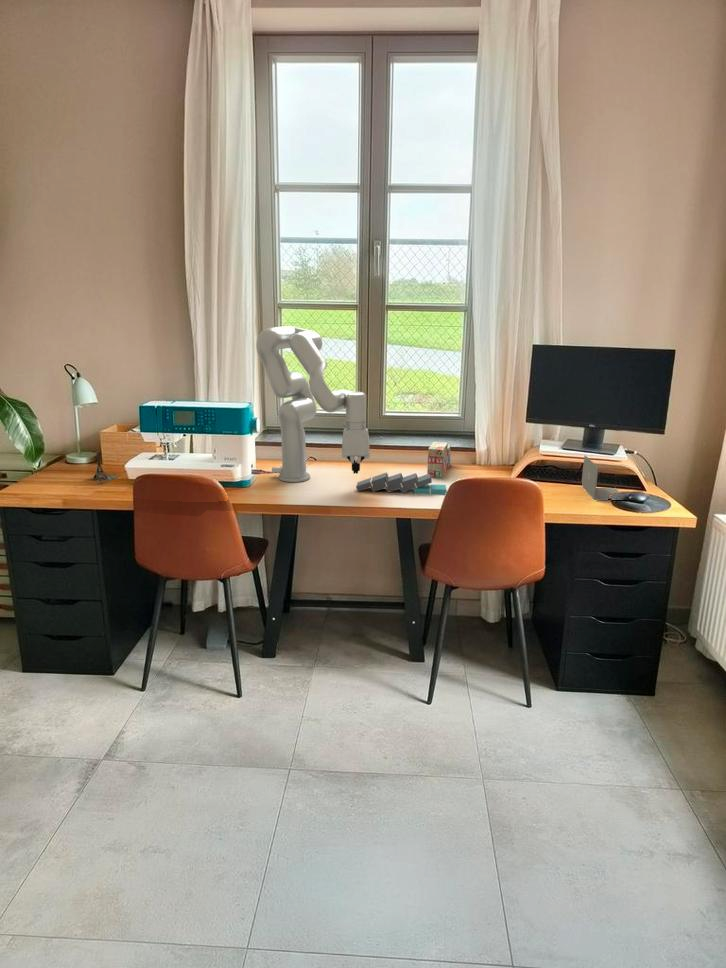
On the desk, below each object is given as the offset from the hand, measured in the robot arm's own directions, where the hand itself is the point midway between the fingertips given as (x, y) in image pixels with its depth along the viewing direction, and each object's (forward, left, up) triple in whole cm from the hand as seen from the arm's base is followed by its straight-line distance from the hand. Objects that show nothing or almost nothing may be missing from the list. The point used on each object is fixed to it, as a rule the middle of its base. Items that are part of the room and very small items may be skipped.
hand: (355, 472), depth 252 cm
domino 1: (+1, 0, -6) cm, 6 cm away
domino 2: (+6, 0, -6) cm, 8 cm away
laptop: (+94, +4, -7) cm, 94 cm away
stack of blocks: (+33, +29, -7) cm, 44 cm away
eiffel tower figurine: (-102, +3, -7) cm, 103 cm away
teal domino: (+22, 0, -6) cm, 23 cm away
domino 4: (+17, 0, -6) cm, 18 cm away
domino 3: (+12, 0, -6) cm, 13 cm away
